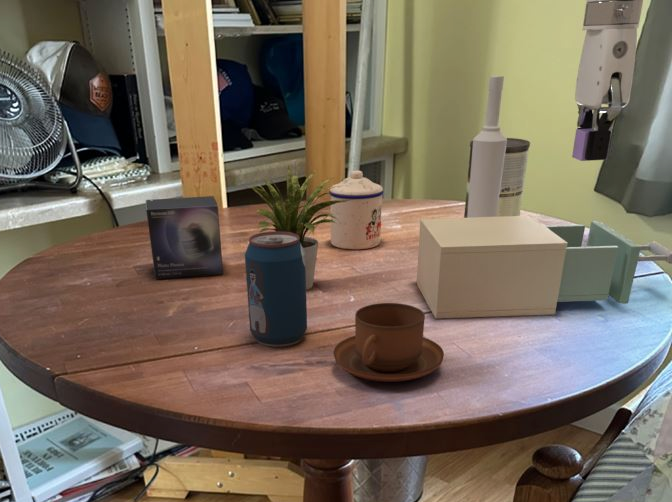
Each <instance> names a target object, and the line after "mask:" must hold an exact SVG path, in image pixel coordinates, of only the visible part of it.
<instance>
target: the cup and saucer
mask: <svg viewBox="0 0 672 502" xmlns="http://www.w3.org/2000/svg"><path fill="white" fill-rule="evenodd" d="M425 316H426V315H425V313H424V311H423V310H422V309H420V308H418V307H416V306H413V305H409V304H405V303H399V302H398V303H397V302H379V303H372V304H369V305H365V306H363V307H360V308H359V309H358V310H356V312H355V316H354V317H355V318H354V320H355V322H354V323H355V324H354V325H355V326H354V328H355V329H354V330H355V331H354V333H355V334H354V335H353V336H349V337H347V338H345V339H343V340H341V341H340V342H339V343H337V344H336V346H335V347H334V349H333V358H334V361H335V362H336V364H337V365H338V366H339V367H340V368H342V370H344V371H346V372H347V373H349V374H350V375H352V376H355V377H358V378H360V379H365V380H369V381H373V382H374V381H375V382H384V383H385V382H387V383H392V382H393V383H394V382H405V381H410V380H415V379H419V378H422V377H425V376H427V375H428V374H430V373H432V372H434V371H435V370H436V369H437V368H438V367H440V365H441V364H442V362H443V360H444V357H445V352H444V350H443V348H442V347H441V345H439V344H438V343H437V342H435V341H433V340H432V339H429V338H428V337H424V331H425V330H424V329H425V320H426V319H425V318H426V317H425Z"/></svg>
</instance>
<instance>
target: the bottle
mask: <svg viewBox="0 0 672 502" xmlns="http://www.w3.org/2000/svg"><path fill="white" fill-rule="evenodd" d="M504 78H505V76H503V75H491V76H489V80H488V81H489V82H488V90H487V91H488V95H487V102H486V103H487V104H486V112H485V115H486V116H485V123H484V125H483V126H482V127H481V128H482V130H481V131H480V132H479V133H478V134H477V135H476V136H475V137H474V138H473V139H472V141H473V149H472V162H471V174H470V187H469V200H468V213H467V218H473V217H496V216H497V209H498V202H499V194H500V187H501V180H502V173H503V166H504V158H505V151H506V144H507V138H508V137H506V136H505V135H504V133H503V132H502V131H501V127H500V126H499V120H500V112H501V104H502V103H501V102H502V94H503V92H502V91H503V89H504Z"/></svg>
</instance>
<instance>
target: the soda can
mask: <svg viewBox="0 0 672 502" xmlns="http://www.w3.org/2000/svg"><path fill="white" fill-rule="evenodd" d="M299 240H300V238H299V236H298V235H297V234H294V233H290V232H276V231H263V232H260V233H255V234H253V235H251V236H250V237H249V238H248V246H247V248H246V250H245V252H244V262H245V263H244V264H245V274H246V275H245V277H246V290H247V292H246V293H247V305H248V306H247V308H248V319H249V320H248V322H249V331H250V334H252V337H253V338H254V339H255V340H256V342H257V343H258V344H260V345H262V346H266V347H271V348H283V347H289V346H293V345H296V344H297V343H299V342H300V341H301V340H303V337H304V335H305V333H306V332H307V330H308V311H307V309H308V308H307V307H308V306H307V305H308V304H307V290H306V268H305V251H304V249H303V247H302V245H301V243H300V241H299Z"/></svg>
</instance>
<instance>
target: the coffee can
mask: <svg viewBox="0 0 672 502" xmlns="http://www.w3.org/2000/svg"><path fill="white" fill-rule="evenodd" d="M506 138H507V144H506V151H505V158H504V166H503V173H502V180H501V187H500V194H499V202H498V209H497V216H496V217H505V216H521V208H522V202H523V201H522V200H523V194H524V186H525V179H526V171H527V164H528V157H529V149H530V147H531V141H529V140H528V139H523V138H516V137H515V138H514V137H506ZM469 149H470V151H469V159H468V161H469V162H468V170H467V171H468V172H467V183H466V192H465V193H466V194H465V204H464V213H463V214H464V215H463V218H467V213H468V200H469V187H470V174H471V162H472V149H473V140H471V141H470V142H469Z"/></svg>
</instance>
